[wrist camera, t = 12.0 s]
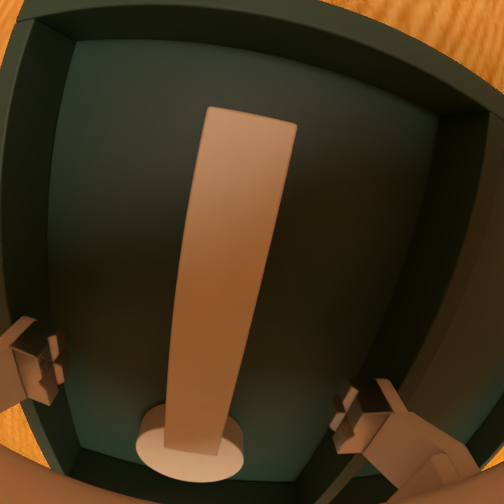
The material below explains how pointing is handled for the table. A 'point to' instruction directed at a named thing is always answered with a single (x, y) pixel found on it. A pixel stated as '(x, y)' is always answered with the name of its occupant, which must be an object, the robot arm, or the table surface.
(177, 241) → the tray
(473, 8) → the table surface
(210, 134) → the spoon
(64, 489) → the robot arm
